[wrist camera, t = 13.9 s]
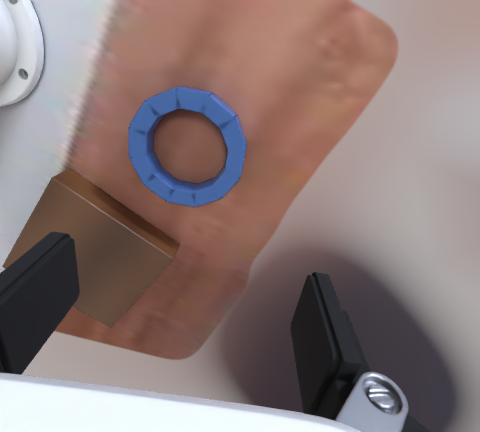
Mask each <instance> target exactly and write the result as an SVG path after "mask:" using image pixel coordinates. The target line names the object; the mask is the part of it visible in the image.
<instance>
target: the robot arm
mask: <svg viewBox="0 0 480 432" xmlns="http://www.w3.org/2000/svg"><path fill="white" fill-rule="evenodd" d="M43 60H44V45H43V36H42V32H41V28H40V24H39V21H38V17H37V15H36V12H35V10H34V8H33V5H32V3H31V1H30V0H0V107H1V106H7V105H11V104H14V103H17V102H19V101H20V100H22V99H23V98H25V97H27V96H28V94H29V93H30V92H31V91H32V90H33V89H34V88H35V86H36V84H37V82H38V80H39V78H40V75H41V71H42V68H43ZM79 294H80V287H79V277H78V268H77V259H76V250H75V241H74V239H73V238H71V237H70V235H69V234H67V233H61V232H54V231H53V232H50V233H49V234H48V235H46V236H45V237H44V238H43V239H41V240H40V241H39V242H38V243H37V244H35V245H34V246H33V247H32V248H31V249H29V250H28V251H27V252H26V253H24V254H23V255H22V256H21V257H20V258H18V259H17V260H16V261H15V262H14V263H12V264H11V265H10V266H9V267H7V268H6V269H5V270H4V271H3V272H1V273H0V432H430V431H429V430H428V429H427V428H426V427H424V426H423V425H422V424H421V423H419V422H418V421H417V420H416V419H415V418H413V417H412V416H411V415H410V414H409V413H408V404H407V400H406V398H405V396H404V394H403V392H402V391H401V390H400V388H399V387H398V386H397V385H396V384H395V383H394V382H393V381H391V380H390V379H389V378H387V377H385V376H384V375H382V374H378V373H376V372H371V371H370V368H369V366H368V363H367V361H366V358H365V356H364V353H363V351H362V348H361V346H360V343H359V341H358V338H357V336H356V333H355V331H354V328H353V326H352V323H351V321H350V318H349V316H348V314H347V312H346V311H345V310H342V309H341V306H340V303H339V301H338V298H337V296H336V293H335V290H334V288H333V285H332V283H331V280H330V277H329V275H328V274H322V273H316V272H314V273H313V274H312V275H308V276H307V279H306V281H305V284H304V287H303V290H302V293H301V296H300V299H299V302H298V305H297V307H296V310H295V313H294V316H293V320H292V322H291V335H292V342H293V348H294V354H295V361H296V367H297V374H298V380H299V387H300V393H301V400H302V406H303V412H304V413H300V412H293V411H287V410H280V409H274V408H268V407H261V406H254V405H247V404H240V403H232V402H226V401H218V400H211V399H204V398H197V397H189V396H181V395H175V394H167V393H160V392H152V391H144V390H137V389H129V388H121V387H114V386H106V385H98V384H91V383H83V382H75V381H67V380H59V379H51V378H44V377H35V376H28V375H21V374H22V373H23V372H24V370H25V369H26V368H27V366H28V365H29V363H30V362H31V361H32V360H33V358H34V357H35V355H36V354H37V353H38V352H39V350H40V349H41V347H42V346H43V345H44V343H45V342H46V341H47V339H48V338H49V337H50V335H51V334H52V333H53V331H54V330H55V329H56V327H57V326H58V325H59V323H60V322H61V321H62V319H63V318H64V317H65V315H66V314H67V313H68V311H69V310H70V309H71V307H72V306H73V305H74V303H75V302H76V301H77V299H78V297H79Z"/></svg>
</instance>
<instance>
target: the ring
mask: <svg viewBox="0 0 480 432" xmlns="http://www.w3.org/2000/svg"><path fill="white" fill-rule="evenodd" d="M179 108H180V109H185V110H190V111H195V112H200V113H203V114H204V115H205V116H206V117H207V118H208V119H210V120H211V121H212V122H213V123H214V124H215V125H217V126H218V127H219V128H220V130H221V132H222V135H223V138H224V140H225V143H226V146H227V148H228V153H227V159H226V165H225V166H224V167H223V169H222V170H221V171H220V172H219V173H218V174H217V176H216V177H215V178H213V179H210V180H207V181H204V182H201V183H198V184H196V183H191V182H186V181H180V180H178V179H176V178H175V177H174V176H172V175H171V174H170V173H168V172H167V171H166V170H165V169H163V168H162V166H161V164H160V162H159V160H158V158H157V156H156V154H155V152H154V150H153V148H154V129H155V128H156V127H157V125H158V124H159V122H160V121H161V119H162V118H163V116H164V115H165V114H166V113H169V112H171V111H174V110H176V109H179ZM235 114H236V113H235V112H234V111H233V110H232V109H231V108H230V107H229V106H228V105H226V104H225V103H224V102H223V101H222V100H221V99H220V98H219V97H218V96H216V95H215V94H214V93H213V94H212V92H209V91H204V90H199V89H194V88H189V87H184V86H183V87H176V88H173V89H170V90H168V91H166V92H163V93H161V94H158V95H156V96H153V97H151V98H148V99H147V100H146V101H144V103H143V104H142V106H141V107H140V109H139V111H138V112H137V114H136V115H135V117H134V118H133V120H132V122H131V123H130V125H129V126H130V127H129V156H131V157H130V158H129V159H130V160H131V162H132V164H133V166H134V168H135V170H136V172H137V174H138V176H139V177H140V179H141V181H142V183H144V185H145V186H146V187H147V188H149V189H150V190H151V191H153V192H154V193H156V194H157V195H158V196H160V197H161V198H162V199H164V200H165V201H167V200H168V202H170V203H176V204H181V205H187V206H192V207H195V205H196V207H197V206H200V205H203V204H207V203H210V202H213V201H216V200H219V199H221V197H222V198H223V197H224V196H225V195H226V194H227V192H228V191H229V190H230V189H231V188H232V187H233V186H234V185H235V184H236V182H237V181H238V180H239V179H240V177H241V173H242V168H243V163H244V158H245V152H246V145H247V144H246V139H245V136H244V133H243V130H242V127H241V124H240V121H239V119H238V116H237V115H235Z"/></svg>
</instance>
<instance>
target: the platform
mask: <svg viewBox="0 0 480 432" xmlns="http://www.w3.org/2000/svg"><path fill="white" fill-rule="evenodd" d="M53 231H54V232H61V233H67V234H69V235H70V237H71V238H73V239H74V241H75V250H76V259H77V268H78V277H79V287H80V294H79V297H78V299H77V301H76V302H75V303H74V305H73V307H75V308H77V309H78V310H80V311H82V312H84V313H86V314H87V315H89V316H91V317H93V318H94V319H96V320H98V321H100V322H102V323H103V324H105V325H107V326H109V327H110V328H111V327H112V326H113V325H114V324H115V323H116V322H117V321H118V319H119V318H120V317H121V316H122V315H123V314H124V313H125V312H126V311H127V310H128V308H129V307H130V306H131V305H132V304H133V303H134V302H135V301H136V300H137V298H138V297H139V296H140V295H141V294H142V293H143V292H144V291H145V290H146V288H147V287H148V286H149V285H150V284H151V283H152V282H153V281H154V280H155V279H156V277H157V276H158V275H159V274H160V273H161V272H162V271H163V270H164V269H165V267H166V266H167V265H168V264H169V263H170V262H171V261H172V260H173V258H174V256H175V254H176V251H177V249H178V247H179V244H178V243H177V242H176V241H174V240H173V239H171V238H170V237H168V236H167V235H165V234H164V233H163V232H161V231H160V230H158V229H157V228H155V227H154V226H152V225H151V224H150V223H148V222H147V221H145V220H144V219H142V218H141V217H139V216H138V215H137V214H135V213H134V212H132V211H131V210H129V209H128V208H126V207H125V206H124V205H122V204H121V203H119V202H118V201H116V200H115V199H113V198H112V197H111V196H109V195H108V194H106V193H105V192H103V191H102V190H100V189H99V188H98V187H96V186H95V185H93V184H92V183H90V182H89V181H87V180H86V179H85V178H83V177H82V176H80V175H79V174H77V173H76V172H74V171H73V170H72V169H70V168H69V169H68V170H66V171H64V172H62V173H60V174H58V175H56V176H54V177H52V179H51V180H50V182H49V184H48V186H47V188H46V189H45V191H44V193H43V195H42V196H41V198H40V200H39V202H38V204H37V205H36V207H35V209H34V211H33V213H32V214H31V216H30V218H29V220H28V221H27V223H26V225H25V227H24V229H23V230H22V232H21V234H20V236H19V238H18V239H17V241H16V243H15V245H14V247H13V248H12V250H11V252H10V254H9V255H8V257H7V259H6V261H5V263H4V264H3V266H2V267H4V268H5V269H6V268H7V267H9V266H10V265H11V264H12V263H14V262H15V261H16V260H17V259H18V258H20V257H21V256H22V255H23V254H24V253H26V252H27V251H28V250H29V249H31V248H32V247H33V246H34V245H35V244H37V243H38V242H39V241H40V240H41V239H43V238H44V237H45V236H46V235H48V234H49V233H50V232H53Z"/></svg>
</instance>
